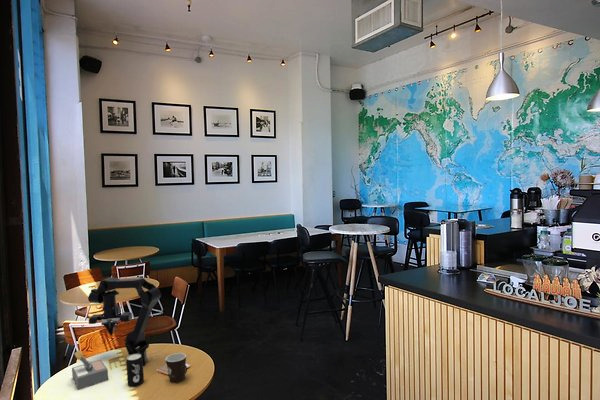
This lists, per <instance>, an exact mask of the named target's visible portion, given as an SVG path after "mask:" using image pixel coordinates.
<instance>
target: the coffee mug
mask: <svg viewBox="0 0 600 400" xmlns="http://www.w3.org/2000/svg"><path fill="white" fill-rule="evenodd" d="M186 361H187V355H186V353H183V352H176V353H171V354H169V355H167V356H166V357H165V364H166V368H167V374H168V378H169V382H170V383H172V384H178V383H181V382H183V381H184V380H185V378H186V373H187V372H188V367H187V364H186V363H187V362H186Z"/></svg>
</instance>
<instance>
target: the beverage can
mask: <svg viewBox="0 0 600 400" xmlns="http://www.w3.org/2000/svg"><path fill="white" fill-rule="evenodd" d="M125 363H126V366H125V367H126V377H127V385H128V386H130V387H138V386H141V385H142V384H143V383H144V381H145V376H144V375H145V374H144V366H143V359H142V357H141V354H133V355H128V356H127V357H126V361H125Z"/></svg>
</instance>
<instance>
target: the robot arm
mask: <svg viewBox="0 0 600 400" xmlns="http://www.w3.org/2000/svg"><path fill="white" fill-rule="evenodd" d="M118 289H119V290H120V289H135V291H136V292H137V295H138V296H139V298H141V299H140V303H141V308H140V312H139V314H138V316H137V319H136V323H135V325H134V328H133V330H131V331H129V332H128V333H126V337H125V339H124V345H125V348H126V351H127V353H128V356H130V355H133V354H141V357H142V359H143V367H145V366H146V365H147V363H148V361H149V359H148V358H147V357H148V356H147V349H149V346H150V343H149V342H148V341H147V340H146V338H145V337H146V335H145V329H146V326H147V324H148V321H149V319H150V316H151V313H152V311H153V308H154V307H155V306H156V304H157V303H158V302H159V300H160V298H161V297H162V291H161V290H160V289H159V288H158V287H157V286H155V284H153V283H151V282H149V281H147V280H146V279H145V278H143V277H139V278H126V279H125V278H122V279H120V278H118V277H113V276H111V277H108V278H104V279H103V280H100V282H99V285H98V286H97V288H93V289H91V290H90V293H89V294H88V297H87V300H88V302H89V303H90V304H102V306H103V307H102V308H101V309H102V311H103V315H102V314H101V313H100V314H93V315H91V316H90V317H89V318H88V324H89V325H92V324H93V325H94V324H96V323H98V321H101V325H102V326H103V327H105V329H106V330H107V332H108V333H109V335H110V336H113V335H114V332H115V329H116V325H117V324H118V323H119V322H120V321H121V322H129V321H130V320H131V319H132V318H133V313H132V312H131V311H129V312H128V311H127V312H126V311H125V312H123V313H121V311H122V310H121V309H122V306H118V304H117V298H116V296H117V295H118V296H119V295H120V292H119V291H117V290H118ZM144 289H146V290H144ZM120 313H121V314H120Z"/></svg>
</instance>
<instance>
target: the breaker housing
mask: <svg viewBox="0 0 600 400" xmlns="http://www.w3.org/2000/svg"><path fill="white" fill-rule="evenodd" d="M90 364H91V365H92V367H93V368H92V369H91V370H89V369H88V367H87V366H86V365H85V364H84V363H83V364H81V365H77V366H74V367H72V368H71V373H72V375H71V376H72V380H73V383H74V384H75V386H76V388H77V390H79V391H81V390H83V389H86V388H88V387H91V386H95V385H98V384H101V383H104V382H107V381H109V371H108V368H107V366H106V365H105V364H104V362H103V361H102V359H98V360H93V361H91V362H90Z"/></svg>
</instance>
